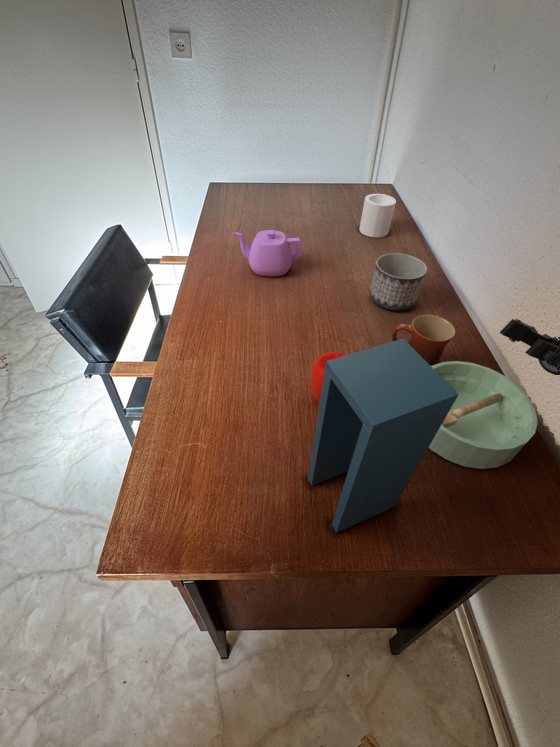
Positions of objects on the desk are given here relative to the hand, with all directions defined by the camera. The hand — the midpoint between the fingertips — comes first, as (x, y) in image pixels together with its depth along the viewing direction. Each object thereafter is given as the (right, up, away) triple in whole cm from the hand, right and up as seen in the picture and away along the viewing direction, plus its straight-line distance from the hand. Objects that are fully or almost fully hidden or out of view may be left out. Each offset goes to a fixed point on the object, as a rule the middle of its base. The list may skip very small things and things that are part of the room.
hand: (520, 336), depth 57 cm
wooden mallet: (-2, -12, +12) cm, 17 cm away
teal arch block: (-25, -26, +5) cm, 36 cm away
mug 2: (-3, +45, +74) cm, 87 cm away
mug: (-7, -3, +27) cm, 28 cm away
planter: (-7, +14, +44) cm, 47 cm away
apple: (-27, -11, +19) cm, 35 cm away
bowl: (-2, -15, +15) cm, 22 cm away
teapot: (-41, +26, +54) cm, 73 cm away
